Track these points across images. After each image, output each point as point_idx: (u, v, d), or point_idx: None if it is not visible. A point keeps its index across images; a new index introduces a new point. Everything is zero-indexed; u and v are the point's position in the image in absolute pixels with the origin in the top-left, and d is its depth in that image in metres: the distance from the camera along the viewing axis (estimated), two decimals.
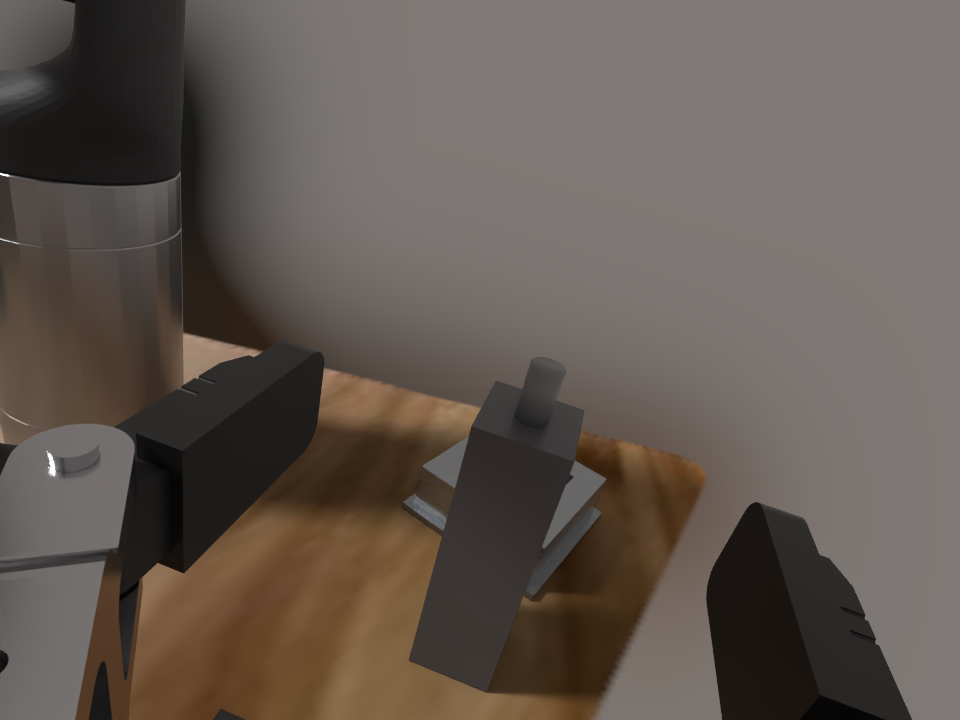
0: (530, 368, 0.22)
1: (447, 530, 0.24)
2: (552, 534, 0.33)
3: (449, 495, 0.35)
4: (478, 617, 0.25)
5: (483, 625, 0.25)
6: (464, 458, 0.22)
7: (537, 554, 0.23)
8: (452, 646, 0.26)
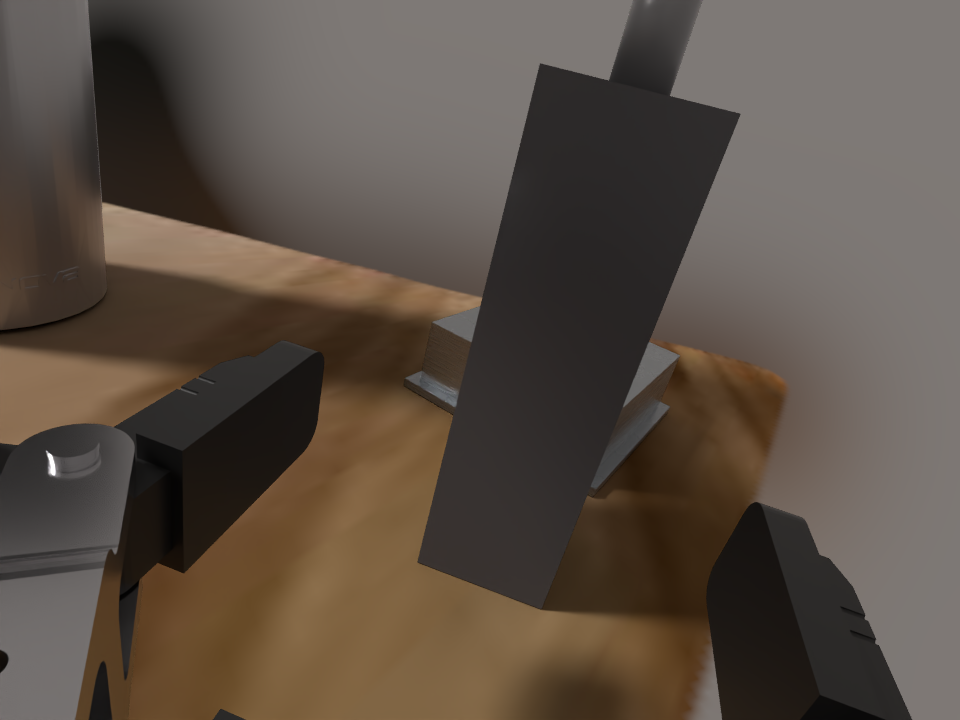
0: None
1: (487, 307, 0.14)
2: None
3: None
4: (535, 473, 0.15)
5: (542, 488, 0.15)
6: (523, 143, 0.12)
7: (648, 335, 0.13)
8: (489, 531, 0.16)
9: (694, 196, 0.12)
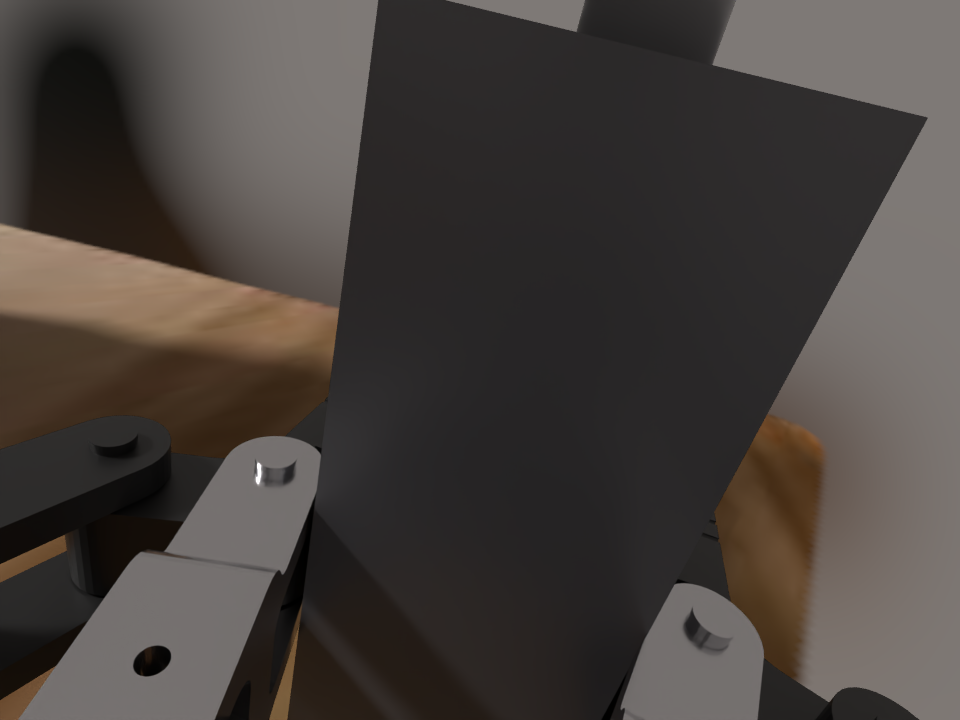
0: None
1: (327, 512, 0.07)
2: None
3: None
4: None
5: None
6: (360, 186, 0.05)
7: (659, 600, 0.06)
8: None
9: (779, 326, 0.05)
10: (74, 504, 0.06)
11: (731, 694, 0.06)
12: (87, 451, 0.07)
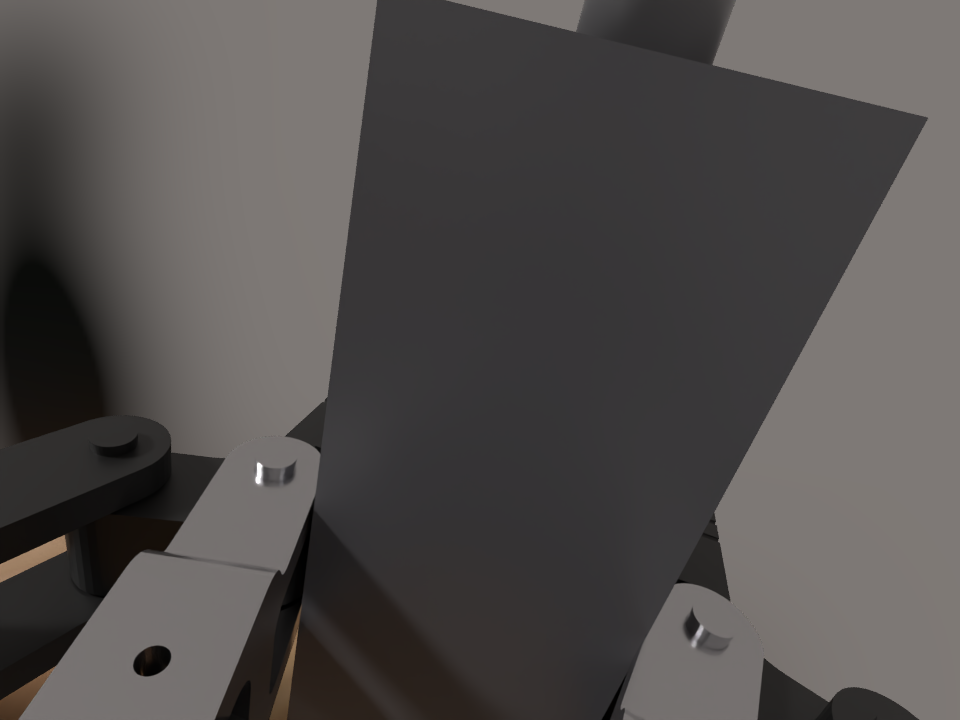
0: None
1: (326, 512, 0.07)
2: None
3: None
4: None
5: None
6: (360, 186, 0.05)
7: (659, 601, 0.06)
8: None
9: (779, 326, 0.05)
10: (73, 504, 0.06)
11: (731, 694, 0.06)
12: (87, 451, 0.07)
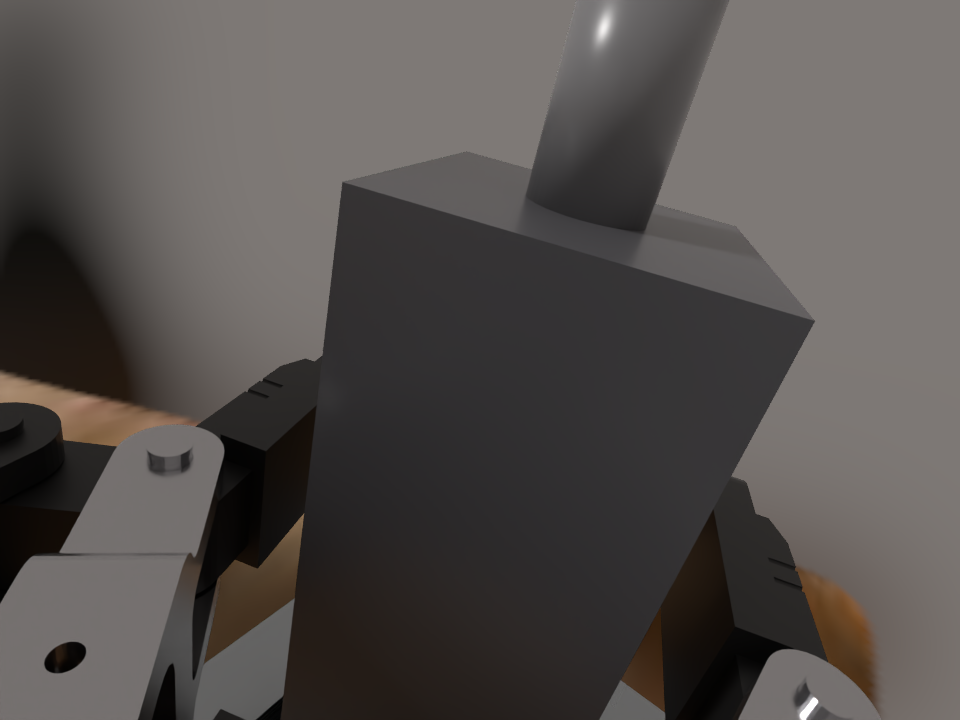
0: None
1: (306, 604, 0.07)
2: None
3: None
4: None
5: None
6: (329, 339, 0.06)
7: (607, 694, 0.07)
8: None
9: (700, 475, 0.05)
10: None
11: None
12: None
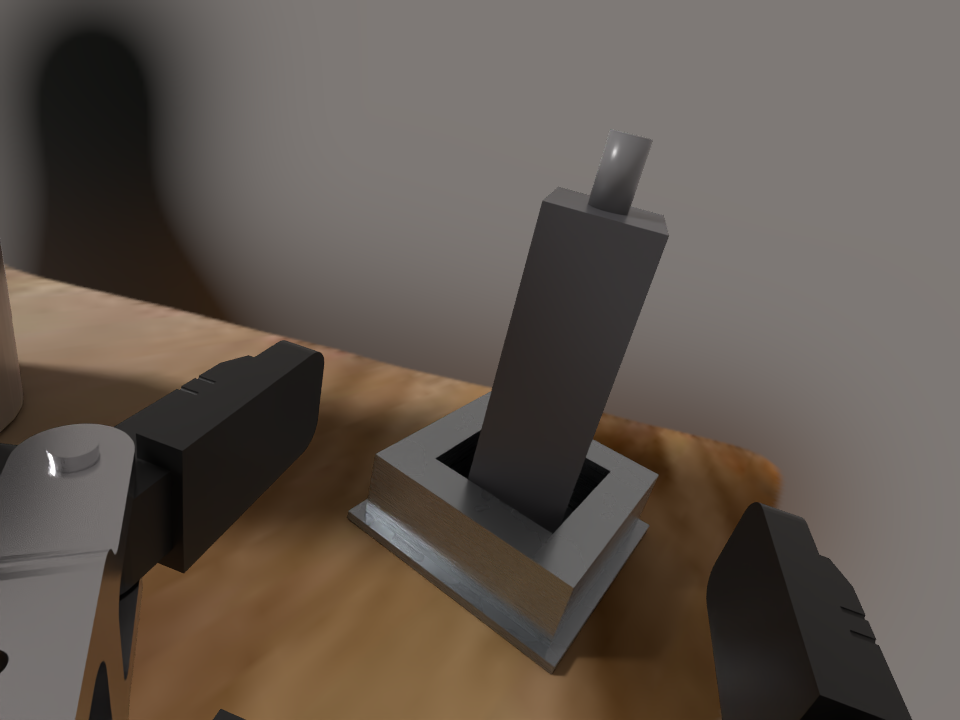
0: (610, 135, 0.18)
1: (506, 351, 0.20)
2: (585, 561, 0.20)
3: (418, 499, 0.22)
4: (539, 465, 0.21)
5: (544, 476, 0.22)
6: (531, 247, 0.18)
7: (616, 371, 0.19)
8: None
9: (642, 284, 0.18)
10: None
11: None
12: None
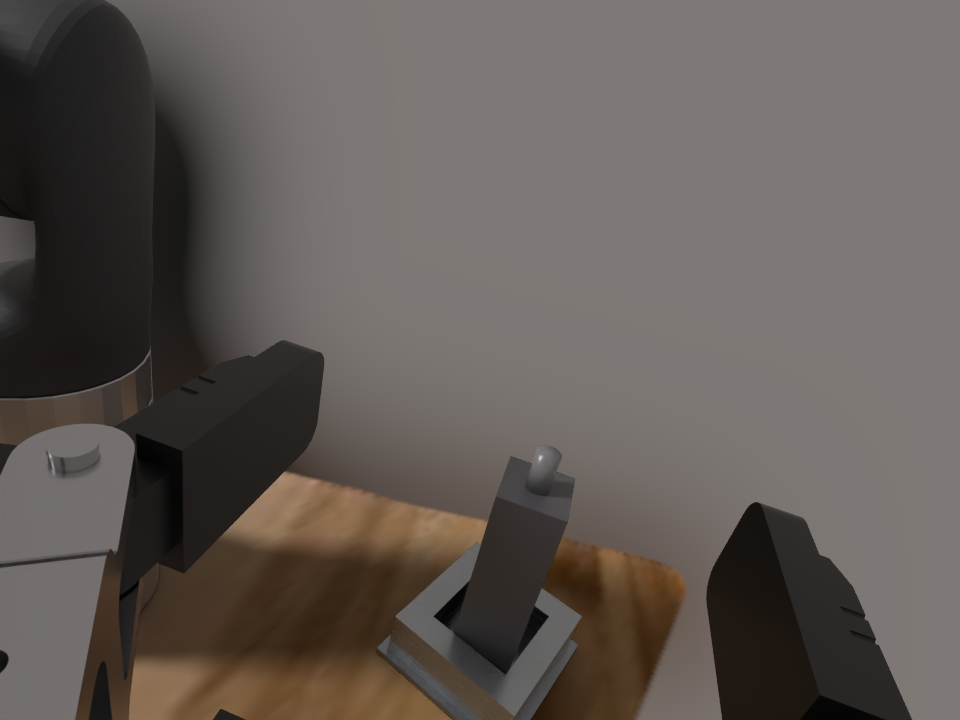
0: (536, 455, 0.31)
1: (477, 567, 0.33)
2: (523, 696, 0.33)
3: (422, 648, 0.35)
4: (498, 628, 0.34)
5: (501, 635, 0.34)
6: (490, 517, 0.31)
7: (541, 584, 0.32)
8: (479, 650, 0.36)
9: (554, 543, 0.31)
10: None
11: None
12: None
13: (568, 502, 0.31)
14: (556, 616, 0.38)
